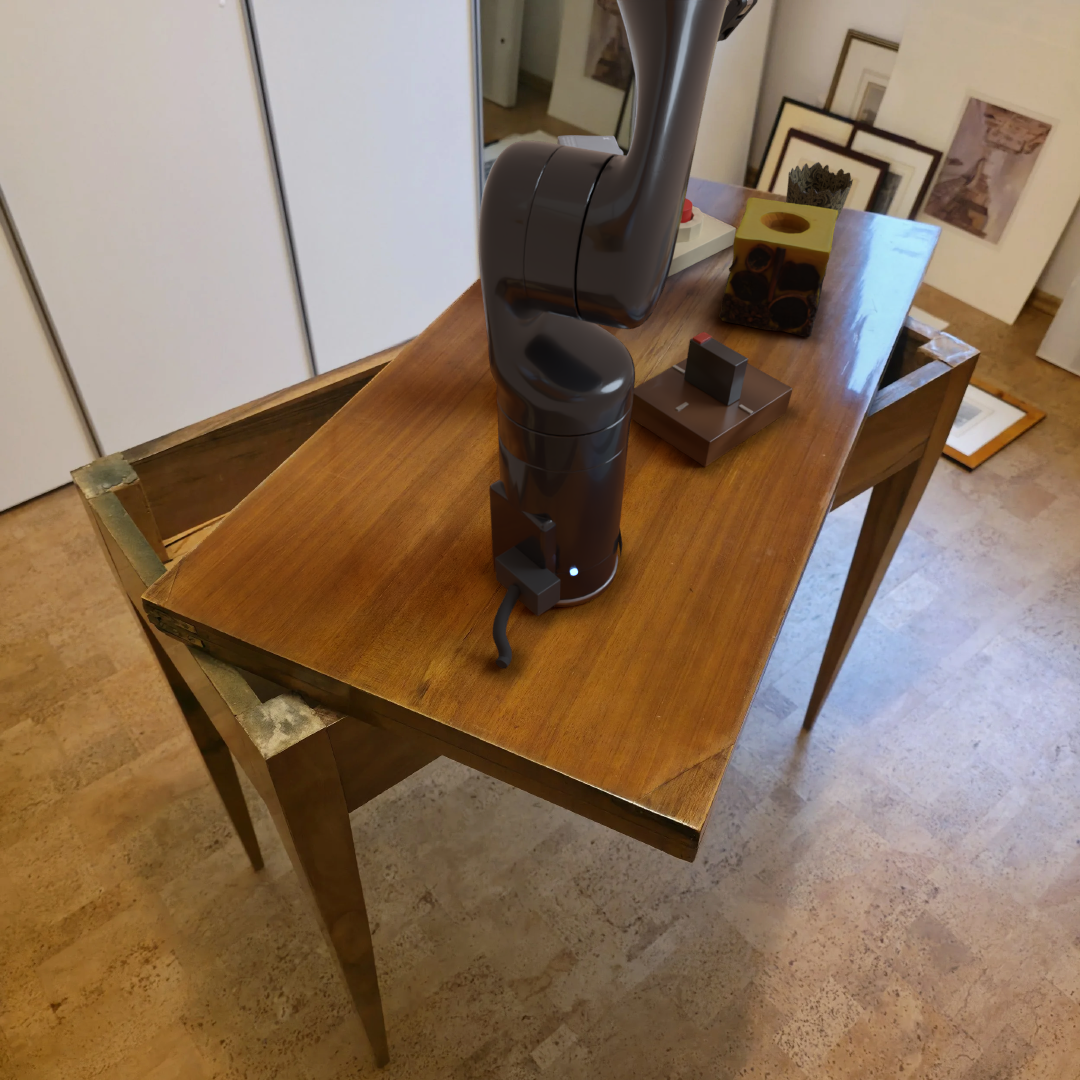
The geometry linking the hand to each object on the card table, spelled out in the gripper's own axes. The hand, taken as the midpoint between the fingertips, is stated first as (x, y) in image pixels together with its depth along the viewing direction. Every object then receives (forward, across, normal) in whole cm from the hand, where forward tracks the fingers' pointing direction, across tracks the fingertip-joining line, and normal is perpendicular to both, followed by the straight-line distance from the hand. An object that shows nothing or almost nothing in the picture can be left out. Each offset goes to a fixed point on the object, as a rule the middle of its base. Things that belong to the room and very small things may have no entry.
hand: (690, 81), depth 94 cm
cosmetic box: (+19, 0, -15) cm, 24 cm away
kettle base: (+19, 0, 0) cm, 19 cm away
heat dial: (+16, +25, -22) cm, 37 cm away
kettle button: (+15, 0, 0) cm, 15 cm away
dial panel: (+19, +25, -22) cm, 38 cm away
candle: (+19, +17, -2) cm, 26 cm away
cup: (+19, +10, +14) cm, 26 cm away
